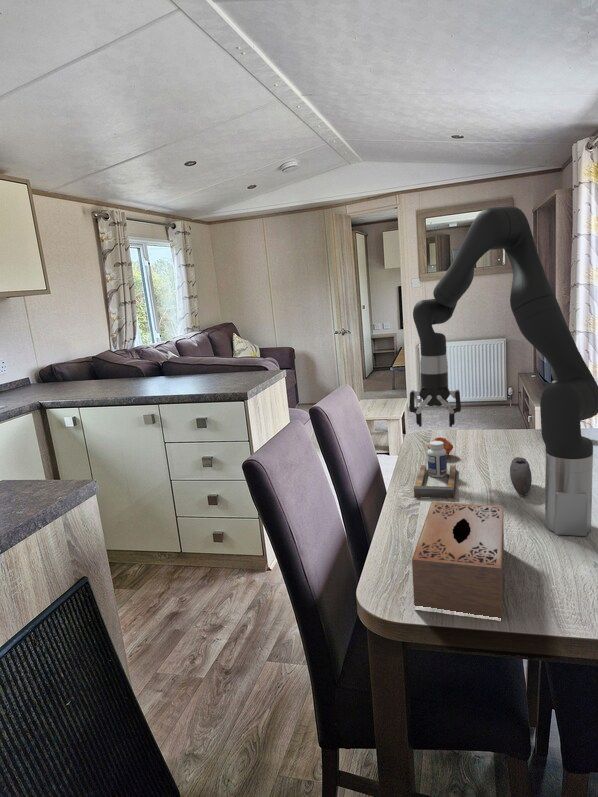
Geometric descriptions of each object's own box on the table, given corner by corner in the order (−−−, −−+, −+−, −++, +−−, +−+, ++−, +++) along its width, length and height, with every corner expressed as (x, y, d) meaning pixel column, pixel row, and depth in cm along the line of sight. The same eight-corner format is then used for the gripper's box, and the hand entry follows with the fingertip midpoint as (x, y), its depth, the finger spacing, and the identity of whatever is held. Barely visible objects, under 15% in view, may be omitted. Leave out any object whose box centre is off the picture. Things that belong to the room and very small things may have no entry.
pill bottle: (445, 471, 163) (444, 439, 161) (448, 477, 158) (447, 444, 156) (427, 471, 164) (425, 440, 162) (429, 478, 159) (428, 445, 157)
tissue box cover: (501, 623, 91) (501, 568, 89) (414, 611, 97) (411, 559, 95) (503, 550, 115) (503, 505, 113) (433, 544, 120) (431, 501, 118)
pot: (421, 457, 177) (423, 436, 177) (436, 456, 182) (437, 436, 182) (442, 460, 171) (444, 439, 171) (457, 460, 176) (458, 439, 176)
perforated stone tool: (533, 501, 137) (533, 475, 136) (511, 500, 139) (511, 474, 138) (530, 480, 151) (530, 456, 150) (509, 479, 153) (509, 455, 152)
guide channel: (453, 498, 143) (453, 489, 142) (414, 497, 146) (413, 488, 145) (455, 470, 163) (455, 462, 163) (421, 469, 166) (420, 461, 166)
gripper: (406, 373, 154) (409, 429, 157) (459, 372, 149) (461, 429, 153) (409, 369, 161) (411, 422, 164) (460, 367, 156) (461, 422, 160)
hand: (435, 426), depth 158 cm, fingers open, 8 cm apart
